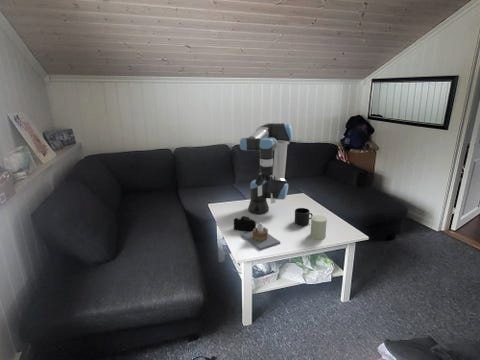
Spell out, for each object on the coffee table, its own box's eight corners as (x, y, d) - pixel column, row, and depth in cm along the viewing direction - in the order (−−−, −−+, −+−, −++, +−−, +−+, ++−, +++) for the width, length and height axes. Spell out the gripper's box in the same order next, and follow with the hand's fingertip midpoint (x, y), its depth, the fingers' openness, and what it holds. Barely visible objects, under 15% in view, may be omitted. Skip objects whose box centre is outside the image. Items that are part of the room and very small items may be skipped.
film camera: (258, 226, 192) (258, 213, 190) (254, 233, 184) (254, 220, 181) (236, 223, 197) (236, 211, 194) (232, 230, 188) (231, 217, 185)
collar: (250, 236, 176) (250, 229, 175) (261, 233, 180) (262, 225, 179) (258, 242, 169) (258, 234, 168) (270, 238, 174) (270, 231, 172)
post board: (241, 235, 180) (241, 219, 177) (260, 230, 187) (260, 214, 184) (260, 250, 164) (260, 232, 161) (280, 243, 170) (280, 226, 167)
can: (308, 232, 183) (309, 214, 179) (322, 231, 183) (323, 214, 180) (312, 239, 174) (314, 221, 170) (328, 239, 174) (329, 220, 171)
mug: (314, 225, 192) (315, 212, 189) (297, 226, 191) (297, 213, 188) (309, 219, 201) (310, 207, 198) (292, 220, 200) (293, 208, 197)
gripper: (249, 161, 178) (249, 194, 185) (274, 171, 158) (273, 207, 165) (259, 159, 182) (259, 191, 189) (285, 169, 161) (284, 204, 168)
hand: (266, 199), depth 177 cm, fingers open, 13 cm apart
